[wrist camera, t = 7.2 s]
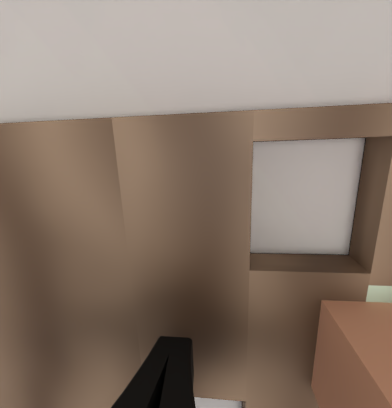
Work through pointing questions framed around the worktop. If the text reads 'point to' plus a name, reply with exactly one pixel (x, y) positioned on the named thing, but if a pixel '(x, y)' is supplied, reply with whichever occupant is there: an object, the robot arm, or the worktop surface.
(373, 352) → the block
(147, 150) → the trap deck
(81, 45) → the worktop surface
